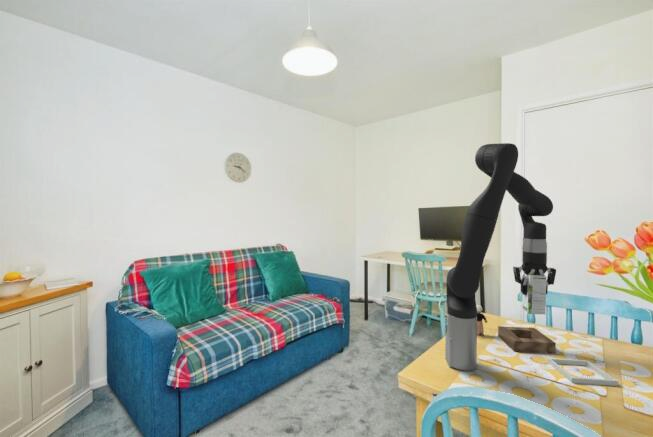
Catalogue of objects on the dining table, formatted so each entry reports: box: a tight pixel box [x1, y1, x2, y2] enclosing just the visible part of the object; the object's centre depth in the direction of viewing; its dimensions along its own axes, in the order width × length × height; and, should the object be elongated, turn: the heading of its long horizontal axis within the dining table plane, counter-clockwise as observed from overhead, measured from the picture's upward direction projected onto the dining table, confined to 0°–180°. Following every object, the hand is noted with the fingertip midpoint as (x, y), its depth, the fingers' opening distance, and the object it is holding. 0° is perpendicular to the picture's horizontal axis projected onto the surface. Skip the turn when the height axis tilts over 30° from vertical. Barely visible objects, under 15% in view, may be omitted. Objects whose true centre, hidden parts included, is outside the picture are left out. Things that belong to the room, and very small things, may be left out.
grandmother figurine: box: [476, 304, 488, 337], centre depth 126 cm, size 8×4×13 cm, turn 108°
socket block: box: [497, 325, 557, 355], centre depth 117 cm, size 14×14×4 cm
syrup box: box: [521, 272, 547, 316], centre depth 113 cm, size 6×6×14 cm
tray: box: [547, 357, 619, 387], centre depth 96 cm, size 12×12×2 cm
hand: (533, 294), depth 113 cm, fingers closed on syrup box, 6 cm apart
